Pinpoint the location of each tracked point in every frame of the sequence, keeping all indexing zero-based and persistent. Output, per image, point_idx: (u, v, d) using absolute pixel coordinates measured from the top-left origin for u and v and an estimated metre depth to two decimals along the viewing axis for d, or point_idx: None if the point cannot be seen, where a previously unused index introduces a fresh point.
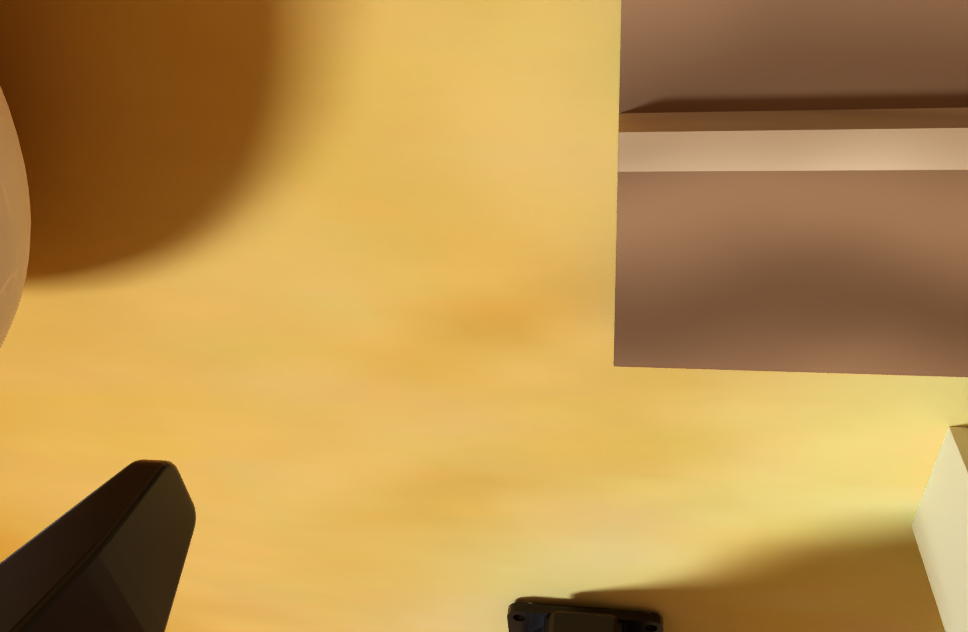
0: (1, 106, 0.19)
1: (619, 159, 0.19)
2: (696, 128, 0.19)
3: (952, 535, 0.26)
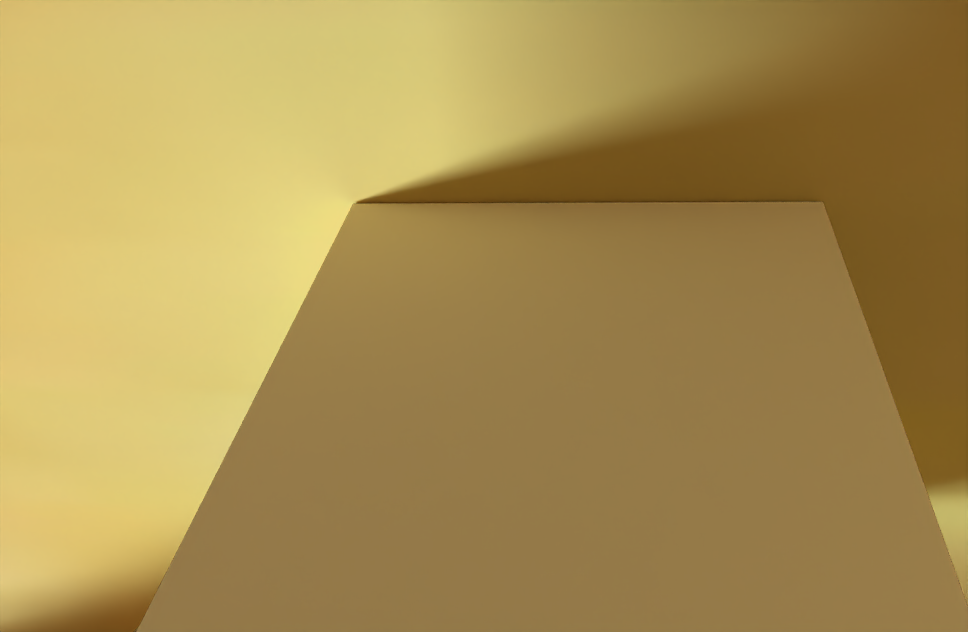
0: None
1: None
2: None
3: None
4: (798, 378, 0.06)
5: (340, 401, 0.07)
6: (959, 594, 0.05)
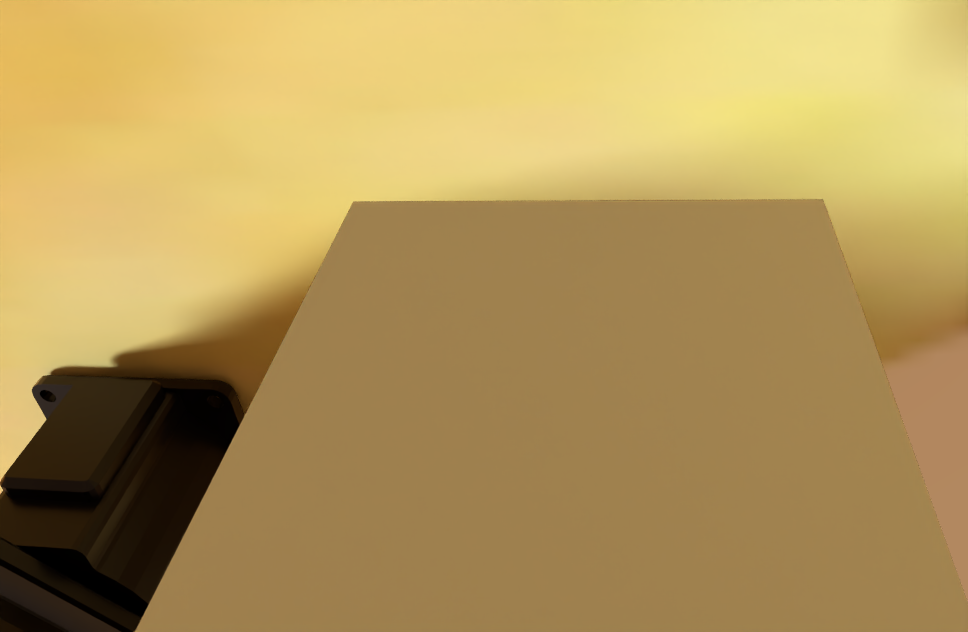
0: None
1: None
2: None
3: None
4: (798, 376, 0.07)
5: (341, 398, 0.07)
6: (961, 589, 0.05)
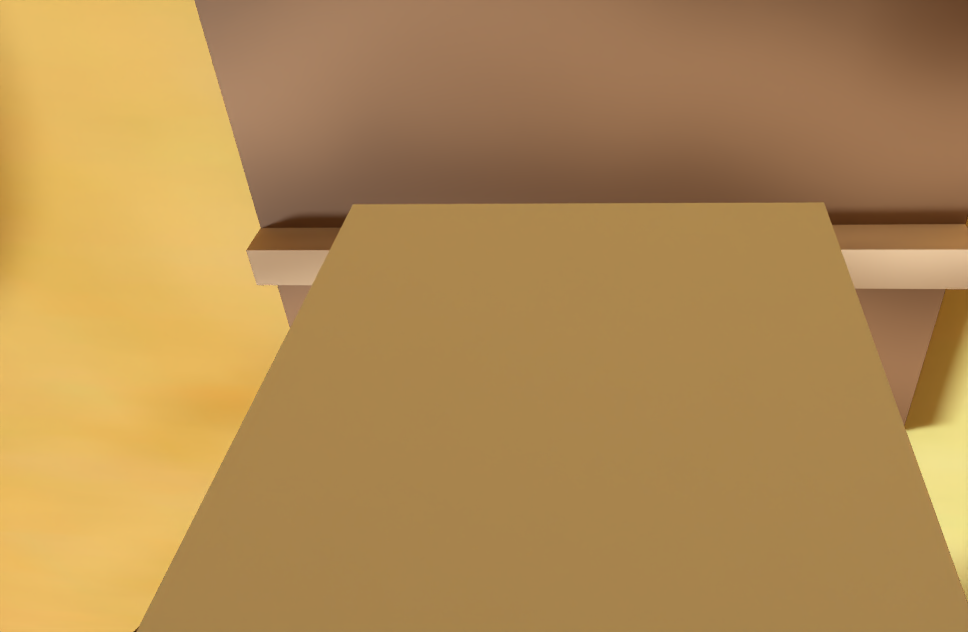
0: None
1: (254, 274, 0.20)
2: (318, 247, 0.19)
3: None
4: (799, 380, 0.06)
5: (340, 402, 0.07)
6: (961, 597, 0.05)
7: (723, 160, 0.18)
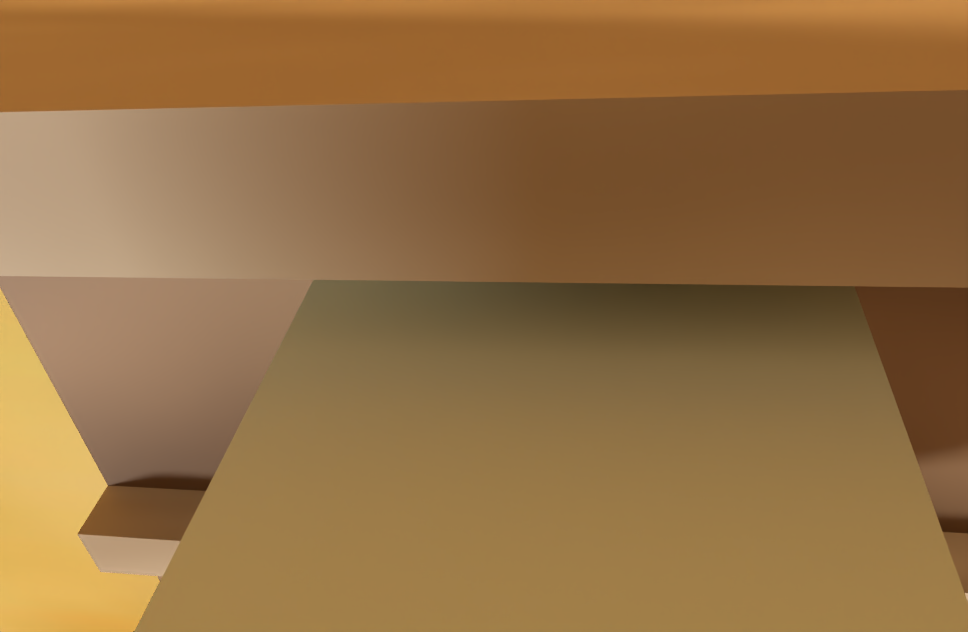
0: None
1: (94, 560, 0.14)
2: (181, 534, 0.13)
3: None
4: (800, 377, 0.06)
5: (339, 401, 0.07)
6: (961, 594, 0.05)
7: None
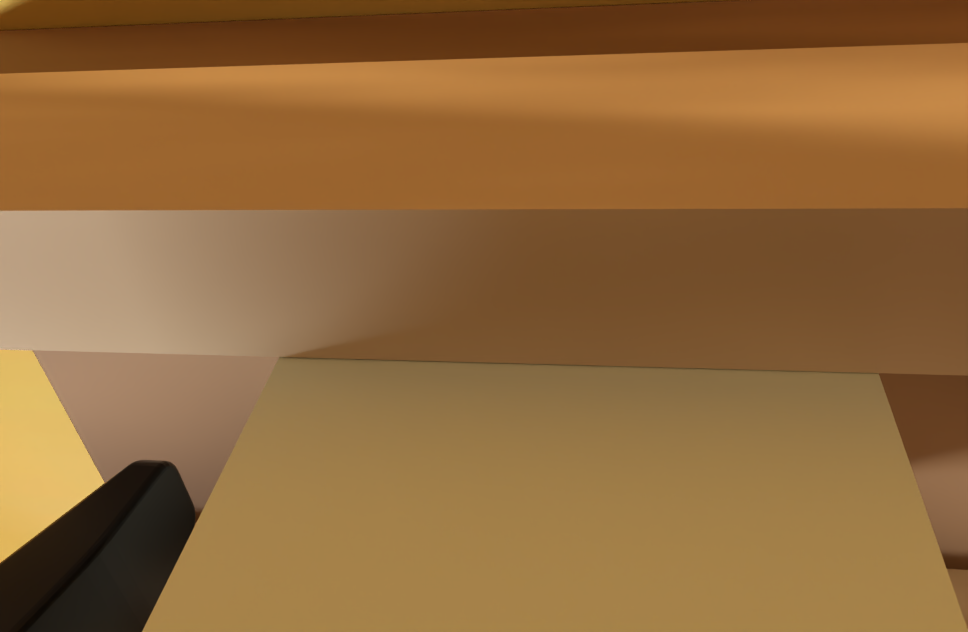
0: None
1: None
2: None
3: None
4: None
5: (354, 370, 0.07)
6: (934, 540, 0.05)
7: None
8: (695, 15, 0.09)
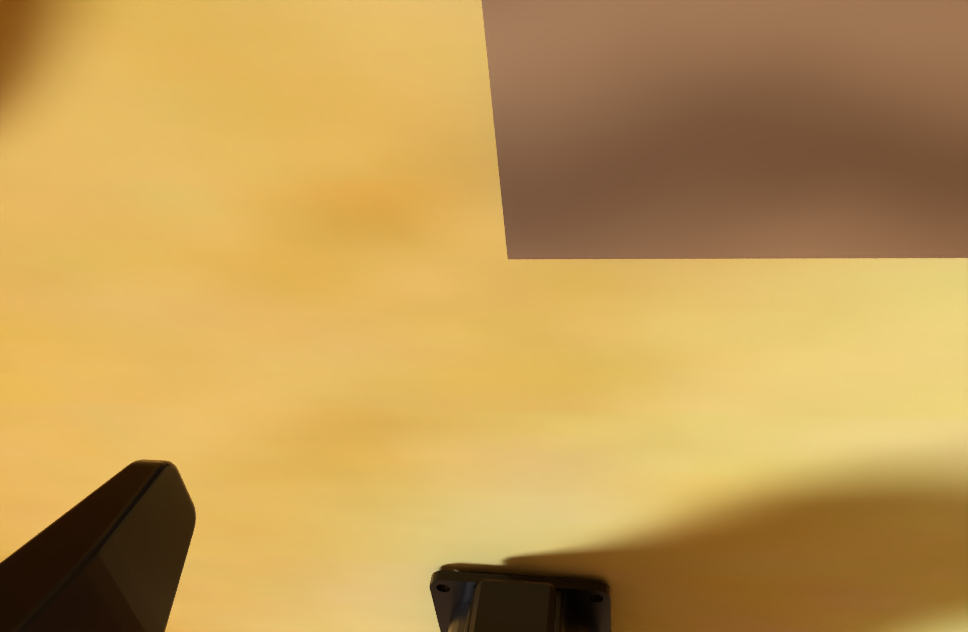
0: None
1: None
2: None
3: None
4: None
5: None
6: None
7: None
8: None
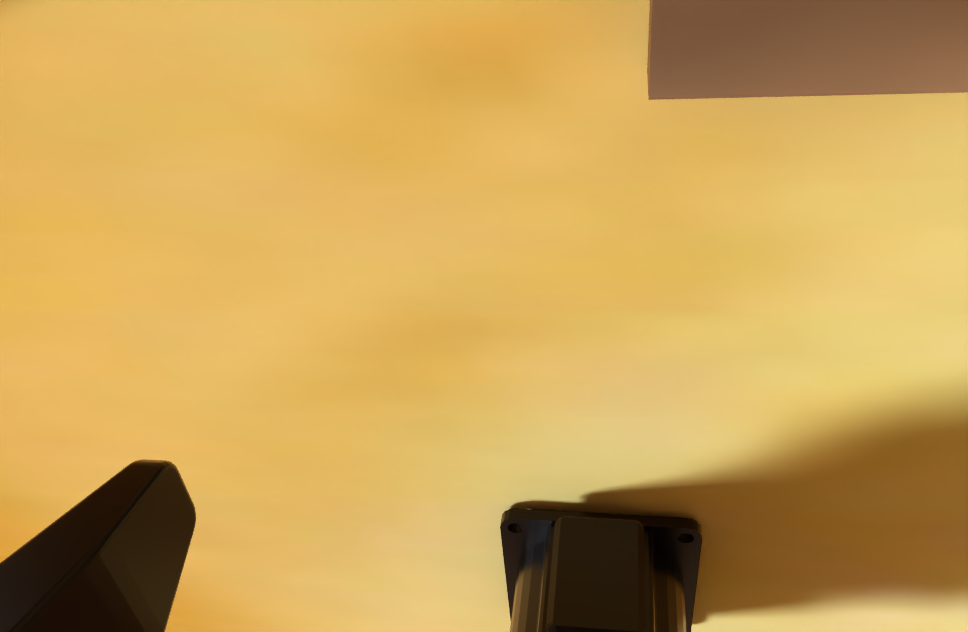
0: None
1: None
2: None
3: None
4: None
5: None
6: None
7: None
8: None
